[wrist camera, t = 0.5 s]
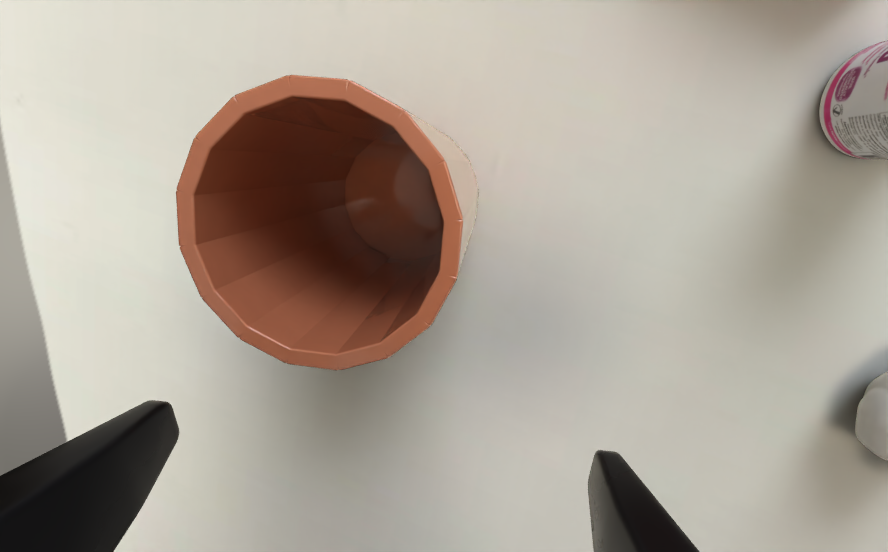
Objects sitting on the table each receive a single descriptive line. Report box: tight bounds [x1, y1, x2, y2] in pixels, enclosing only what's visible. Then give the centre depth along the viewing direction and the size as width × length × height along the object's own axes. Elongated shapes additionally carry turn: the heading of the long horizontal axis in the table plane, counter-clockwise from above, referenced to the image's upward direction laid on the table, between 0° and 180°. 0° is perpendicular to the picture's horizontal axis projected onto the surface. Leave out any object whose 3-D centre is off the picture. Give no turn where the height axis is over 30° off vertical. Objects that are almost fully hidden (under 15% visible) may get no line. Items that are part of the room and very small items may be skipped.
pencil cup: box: [176, 75, 479, 370], centre depth 17 cm, size 7×7×12 cm
